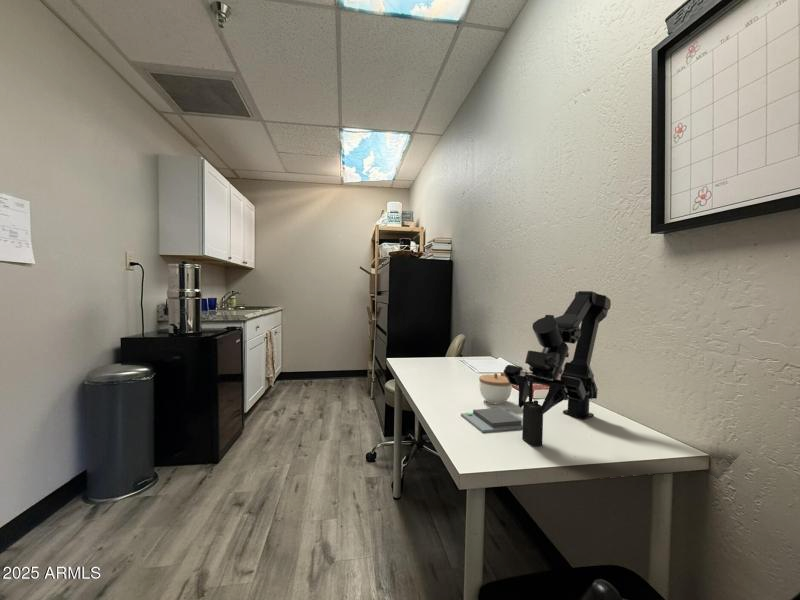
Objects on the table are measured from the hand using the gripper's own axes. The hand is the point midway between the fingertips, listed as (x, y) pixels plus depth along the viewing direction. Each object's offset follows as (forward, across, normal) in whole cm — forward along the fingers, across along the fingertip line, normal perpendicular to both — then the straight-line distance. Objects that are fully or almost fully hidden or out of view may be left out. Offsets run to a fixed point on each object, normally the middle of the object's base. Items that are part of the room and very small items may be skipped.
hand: (530, 410), depth 78 cm
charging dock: (+1, -12, +10) cm, 16 cm away
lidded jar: (-10, -22, +21) cm, 32 cm away
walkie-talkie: (+5, 0, +7) cm, 8 cm away
